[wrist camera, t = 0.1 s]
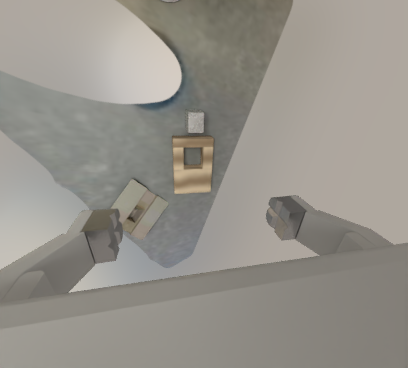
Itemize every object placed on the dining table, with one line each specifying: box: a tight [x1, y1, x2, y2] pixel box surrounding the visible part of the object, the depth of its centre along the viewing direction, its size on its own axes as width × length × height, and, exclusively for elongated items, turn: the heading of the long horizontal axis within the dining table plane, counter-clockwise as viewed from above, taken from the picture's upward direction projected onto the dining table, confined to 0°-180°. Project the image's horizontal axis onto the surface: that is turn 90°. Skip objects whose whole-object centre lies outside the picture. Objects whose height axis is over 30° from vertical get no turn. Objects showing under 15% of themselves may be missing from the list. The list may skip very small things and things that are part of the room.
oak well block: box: [172, 136, 214, 194], centre depth 58 cm, size 18×12×4 cm, turn 177°
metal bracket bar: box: [185, 109, 204, 133], centre depth 50 cm, size 5×4×8 cm
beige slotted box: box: [111, 179, 168, 240], centre depth 60 cm, size 16×9×15 cm
